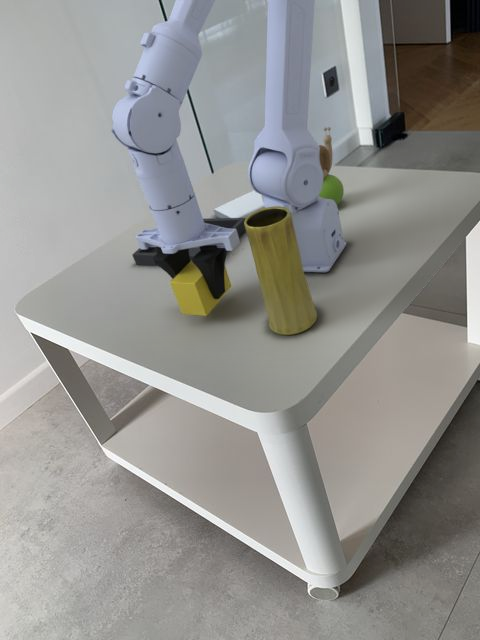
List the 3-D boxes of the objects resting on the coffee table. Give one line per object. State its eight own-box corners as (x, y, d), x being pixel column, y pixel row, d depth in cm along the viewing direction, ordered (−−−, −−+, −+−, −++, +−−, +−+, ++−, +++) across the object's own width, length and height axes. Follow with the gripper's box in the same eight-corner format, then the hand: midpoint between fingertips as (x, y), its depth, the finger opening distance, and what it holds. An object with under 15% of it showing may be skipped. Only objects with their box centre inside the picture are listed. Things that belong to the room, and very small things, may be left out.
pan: (248, 228, 94) (245, 217, 93) (212, 267, 86) (208, 256, 85) (176, 228, 102) (172, 218, 100) (136, 265, 93) (131, 254, 92)
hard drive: (215, 216, 102) (270, 189, 105) (236, 227, 96) (294, 198, 99) (212, 208, 101) (269, 181, 104) (233, 219, 95) (292, 190, 98)
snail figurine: (353, 197, 94) (342, 125, 86) (337, 214, 90) (324, 141, 83) (325, 196, 97) (312, 127, 89) (308, 213, 93) (293, 142, 86)
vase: (314, 334, 66) (289, 225, 57) (265, 337, 68) (234, 233, 59) (320, 304, 70) (297, 200, 62) (274, 309, 72) (246, 208, 64)
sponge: (231, 286, 76) (221, 254, 73) (206, 316, 72) (194, 283, 69) (208, 285, 78) (197, 254, 75) (182, 314, 74) (169, 282, 71)
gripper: (107, 216, 67) (147, 307, 75) (204, 214, 60) (237, 315, 68) (140, 191, 72) (175, 279, 80) (234, 186, 65) (262, 283, 73)
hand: (205, 294), depth 74 cm, fingers closed on sponge, 4 cm apart
